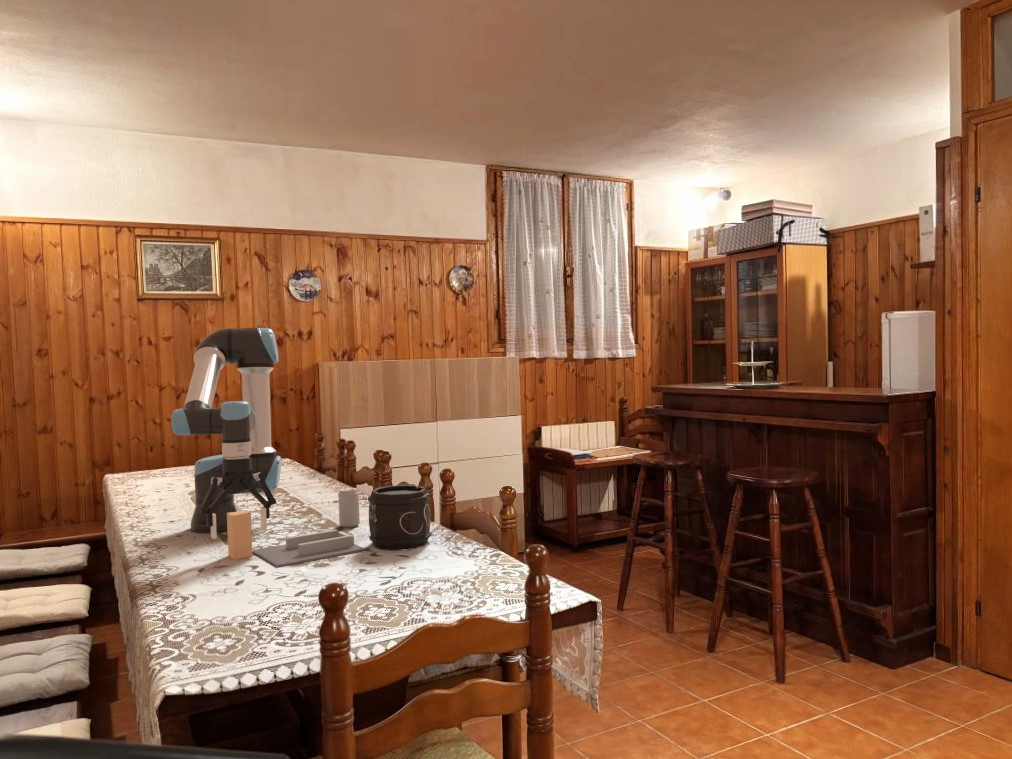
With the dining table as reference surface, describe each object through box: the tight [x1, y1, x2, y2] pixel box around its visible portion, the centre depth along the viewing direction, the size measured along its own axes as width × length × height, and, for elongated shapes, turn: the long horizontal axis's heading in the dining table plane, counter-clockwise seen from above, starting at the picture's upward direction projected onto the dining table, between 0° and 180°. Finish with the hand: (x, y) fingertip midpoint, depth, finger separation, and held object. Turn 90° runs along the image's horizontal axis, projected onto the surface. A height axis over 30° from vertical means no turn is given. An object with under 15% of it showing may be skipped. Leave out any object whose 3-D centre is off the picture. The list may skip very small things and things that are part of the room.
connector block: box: [226, 510, 253, 560], centre depth 209 cm, size 5×5×12 cm
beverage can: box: [337, 487, 361, 529], centre depth 243 cm, size 6×6×12 cm
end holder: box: [252, 529, 366, 568], centre depth 212 cm, size 20×25×4 cm
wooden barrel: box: [367, 484, 432, 551], centre depth 219 cm, size 18×18×16 cm
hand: (239, 534), depth 208 cm, fingers open, 13 cm apart
